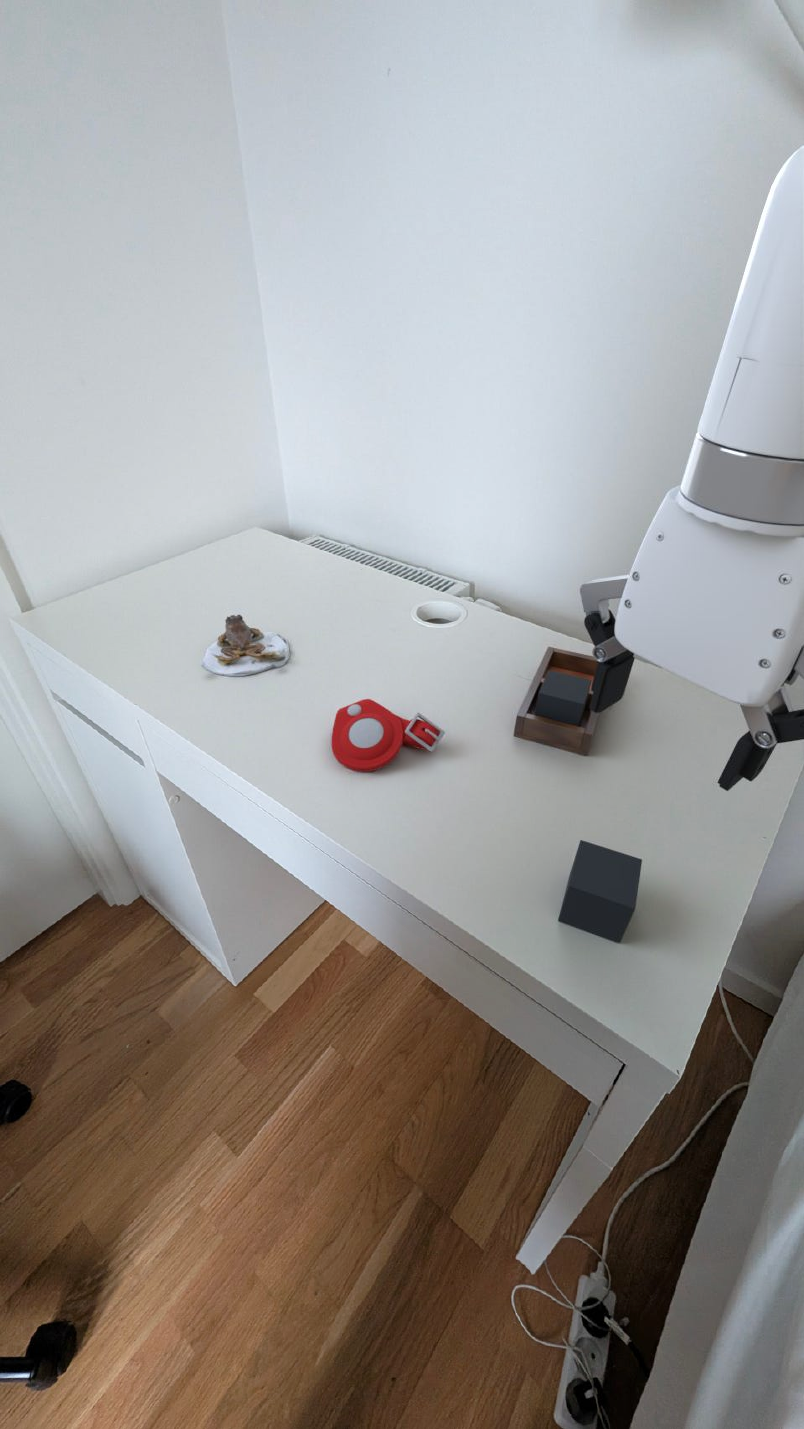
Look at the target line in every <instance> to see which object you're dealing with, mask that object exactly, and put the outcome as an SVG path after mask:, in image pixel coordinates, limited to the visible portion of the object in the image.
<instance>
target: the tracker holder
mask: <svg viewBox="0 0 804 1429" xmlns="http://www.w3.org/2000/svg"><path fill="white" fill-rule="evenodd" d="M445 733H446V732H445V730H443V729H442V728H441V727H439V726H438V725H437V724H435V723H434V722H432V720H430V719H428V718H427V717H426V716H424V715H423V714H421V713H420V712H417V713H416V714H415V715H414V717H413V718H412V719H410V720H408V719H406V718H402V717H401V716H399V715H397V714H395V713H394V712H392V711H391V710H389V709H388V708H386V707H385V706H383V705H382V704H380V703H378V702H377V701H375V700H373V699H371V698H364V699H361V700H358V701H356V702H353V703H351V704H348V705H346V706H343V707H340V708H339V709H338V710H337V712H336V714H335V717H334V722H333V726H332V733H331V750H332V754H333V756H334V757H335V759H336V761H337V762H338V763H339V764H340V765H341V766H343V767H344V768H347V769H349V770H352V771H355V772H361V773H362V772H373V771H376V770H379V769H382V768H384V767H386V766H387V765H389V764H390V763H391V762H393V760H394V759H395V758H396V757H397V756H398V754H399V753H400V750H402V746H403V744H404V745H407V746H410V747H412V748H413V747H414V748H417V749H421V750H425V751H430V752H431V753H433V752H434V751H435V750H436V748H437V746H438V744H439V743H440V741H442V738H443V737H444V735H445Z"/></svg>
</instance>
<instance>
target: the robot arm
mask: <svg viewBox="0 0 804 1429" xmlns="http://www.w3.org/2000/svg"><path fill="white" fill-rule="evenodd" d="M748 256H749V257H748V260H747V263H746V266H745V270H744V272H743V277H742V280H741V282H740V287H739V289H738V293H737V296H736V299H735V303H734V306H733V310H732V313H731V315H730V316H731V317H730V320H729V323H728V326H727V330H726V333H725V337H724V340H723V343H722V347H721V350H720V353H719V357H718V360H717V363H716V367H715V370H714V373H713V376H712V379H711V383H710V386H709V389H708V392H707V396H706V398H705V403H704V404H703V405H704V406H703V410H702V414H701V416H700V418H699V422H698V425H697V429H696V430H697V431H696V432H695V435H694V439H693V442H692V445H691V449H690V452H689V456H688V459H687V462H686V465H685V469H684V472H683V475H682V479H681V482H680V484H679V485H677V486H675V487H672V488H671V489H669V490H668V491H667V493H666V495H665V497H664V498H663V500H662V502H661V503H660V506H659V507H658V509H657V511H656V513H655V515H654V517H653V519H652V521H651V523H650V525H649V526H648V529H647V531H646V533H645V536H644V538H643V539H642V542H641V544H640V547H639V549H638V551H637V554H636V557H635V558H634V562H633V564H632V566H631V568H630V571H629V573H628V574H623V575H615V576H607V577H600V578H595V579H591V580H590V581H588V582H585V583H583V584H582V585H580V587H579V594H580V599H581V603H582V604H581V605H582V608H583V613H585V617H584V621H583V623H584V627H585V629H586V631H587V633H588V635H589V637H590V639H591V642H592V644H593V646H594V647H593V649H592V656H593V657H594V658H595V660H597V661H598V664H597V668H596V671H595V675H594V679H593V683H592V687H591V691H592V692H593V696H592V699H591V703H590V707H589V709H590V710H591V711H593V712H595V713H598V712H599V714H600V713H602V712H604V711H605V710H607V709H608V708H610V707H612V706H614V705H615V704H617V703H618V702H620V701H621V700H622V699H623V698H624V694H625V693H626V692H625V691H626V688H627V685H628V682H629V679H630V675H631V672H632V669H633V665H634V662H635V660H636V659H635V658H636V657H635V655H636V656H638V657H640V658H641V659H644V660H645V661H647V662H649V663H651V664H654V665H655V666H658V667H659V668H662V669H664V670H665V671H667V672H669V673H672V674H674V675H675V676H677V677H679V678H682V679H684V680H686V681H688V682H690V683H692V684H694V685H696V686H698V687H699V688H702V689H704V690H706V691H708V692H710V693H712V694H714V695H717V696H718V697H721V698H722V699H725V700H727V701H729V702H732V703H735V704H737V705H739V706H740V708H741V712H742V714H743V717H744V718H745V719H744V720H745V722H746V725H747V729H748V731H747V732H745V733H744V734H743V735H742V736H741V737H740V738H739V739H738V740H737V742H736V744H735V746H734V748H733V750H732V751H731V754H730V756H729V758H728V760H727V762H726V764H725V766H724V768H723V769H722V772H721V774H720V775H719V778H718V779H717V784H718V785H719V786H718V787H720V788H721V789H722V790H724V791H726V792H729V791H730V790H731V789H732V788H733V787H734V786H736V785H737V784H738V783H739V782H740V781H741V780H742V779H745V780H747V781H749V782H750V783H751V782H753V781H754V780H755V779H756V778H758V776H759V775H760V773H761V772H762V771H763V769H764V768H765V766H766V764H767V763H768V761H769V759H770V757H771V756H772V753H774V750H775V748H776V746H777V745H778V744H784V743H790V742H797V741H802V740H803V741H804V708H802V709H797V710H794V707H793V704H792V702H791V700H790V696H789V695H788V694H789V693H788V691H787V689H786V685H785V684H787V685H788V686H792V685H793V684H795V683H796V681H798V679H799V678H800V677H801V678H802V679H803V680H804V144H802V145H801V147H800V148H798V149H797V150H796V151H794V152H793V154H792V155H791V156H789V158H788V159H787V160H786V161H785V163H784V164H783V166H782V167H781V169H780V170H779V172H778V173H777V175H776V177H775V179H774V181H773V183H772V185H771V187H770V190H769V192H768V196H767V198H766V202H765V205H764V207H763V210H762V213H761V216H760V220H759V223H758V227H757V230H756V233H755V237H754V239H753V243H752V246H751V250H750V253H749V255H748ZM612 599H613V600H615V599H620V602H619V603H618V604H619V605H618V608H617V612H616V616H614V614H613V612H612V611H611V609H609V607H610V602H609V601H610V600H612Z"/></svg>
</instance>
